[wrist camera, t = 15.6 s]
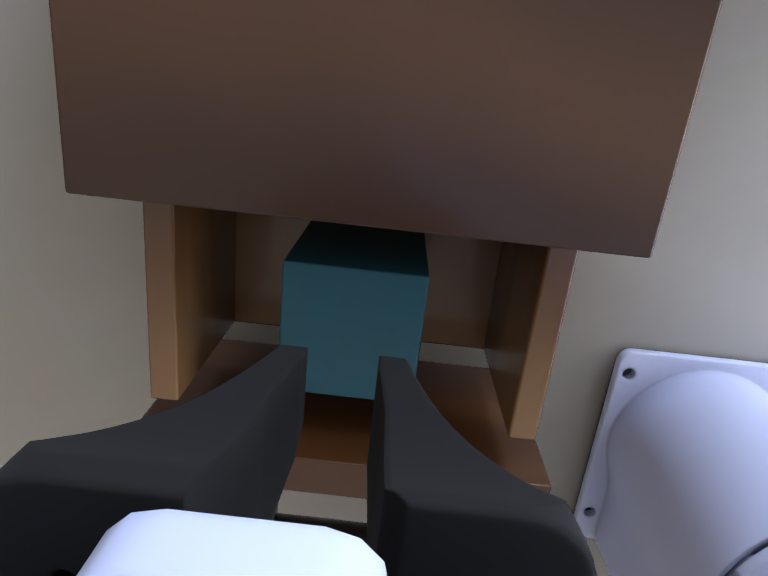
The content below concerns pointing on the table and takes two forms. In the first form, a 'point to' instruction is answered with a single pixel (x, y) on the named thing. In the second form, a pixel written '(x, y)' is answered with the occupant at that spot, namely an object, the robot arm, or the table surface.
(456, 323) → the drawer
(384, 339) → the box
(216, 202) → the cabinet
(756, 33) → the table surface
